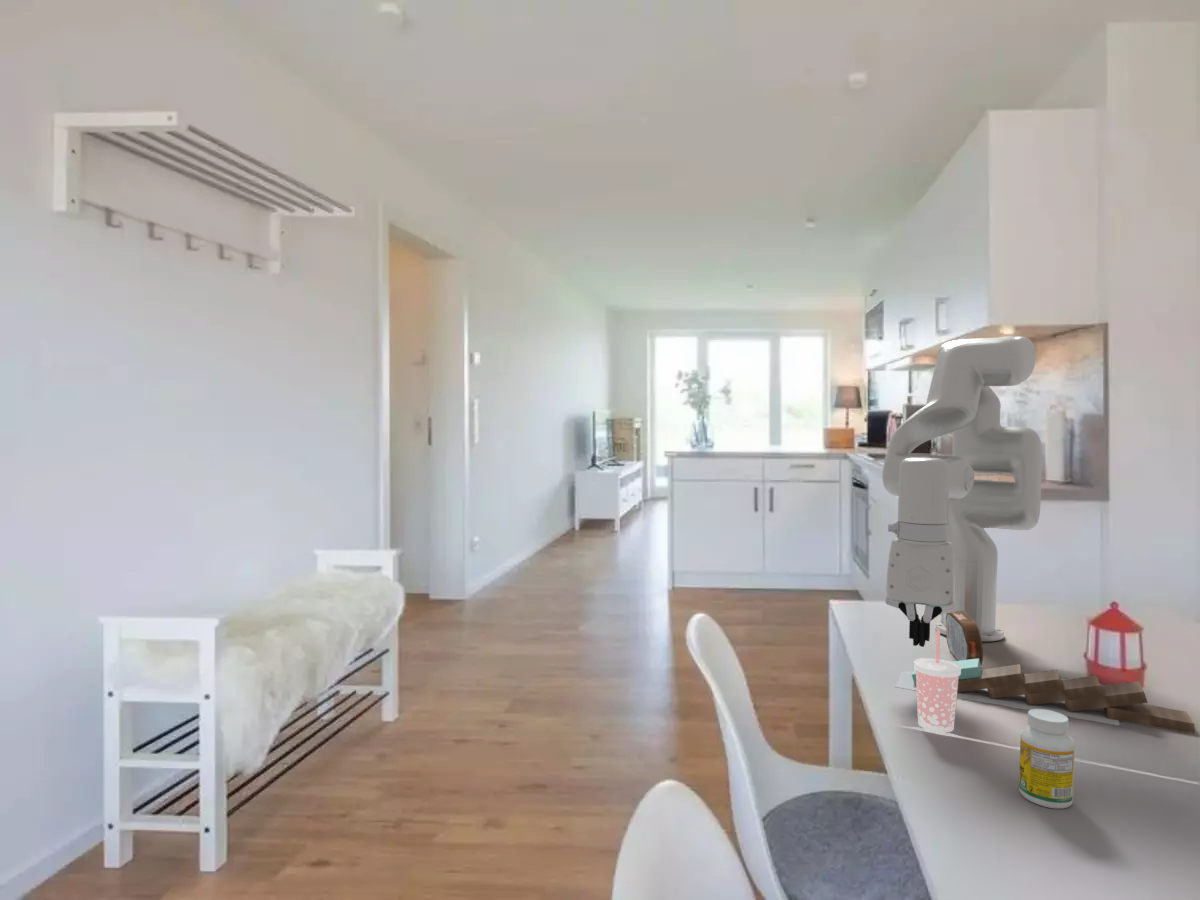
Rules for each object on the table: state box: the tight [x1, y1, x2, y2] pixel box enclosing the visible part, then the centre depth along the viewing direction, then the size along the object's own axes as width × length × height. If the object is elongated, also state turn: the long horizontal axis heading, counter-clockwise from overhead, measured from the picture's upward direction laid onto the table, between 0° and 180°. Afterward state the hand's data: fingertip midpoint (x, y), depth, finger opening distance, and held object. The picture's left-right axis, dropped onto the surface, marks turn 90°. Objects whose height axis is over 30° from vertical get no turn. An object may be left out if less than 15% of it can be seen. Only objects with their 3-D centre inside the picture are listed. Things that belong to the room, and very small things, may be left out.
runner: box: [894, 670, 1120, 726], centre depth 117 cm, size 30×9×1 cm, turn 61°
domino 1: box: [912, 658, 983, 684], centre depth 122 cm, size 2×5×10 cm
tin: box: [945, 610, 984, 667], centre depth 135 cm, size 15×3×8 cm, turn 168°
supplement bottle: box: [1018, 709, 1076, 810], centre depth 85 cm, size 5×5×10 cm
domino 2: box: [957, 663, 1025, 692], centre depth 118 cm, size 2×5×10 cm
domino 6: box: [1103, 703, 1195, 734], centre depth 108 cm, size 2×5×10 cm
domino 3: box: [987, 669, 1063, 699], centre depth 116 cm, size 2×5×10 cm
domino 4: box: [1025, 675, 1103, 705], centre depth 113 cm, size 2×5×10 cm
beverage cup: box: [913, 629, 961, 735], centre depth 105 cm, size 6×6×14 cm
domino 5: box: [1065, 680, 1149, 712], centre depth 111 cm, size 2×5×10 cm
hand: (919, 643), depth 123 cm, fingers closed
